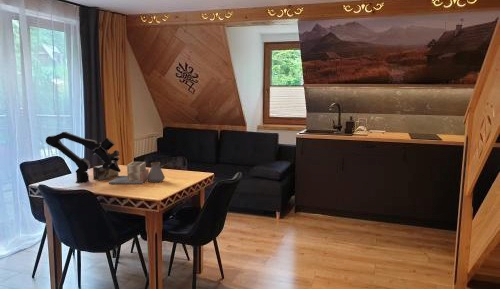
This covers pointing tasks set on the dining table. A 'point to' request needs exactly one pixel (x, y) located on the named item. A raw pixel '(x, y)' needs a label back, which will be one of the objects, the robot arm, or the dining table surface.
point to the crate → (135, 170)
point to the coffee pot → (156, 173)
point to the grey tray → (125, 181)
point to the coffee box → (103, 173)
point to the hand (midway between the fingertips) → (120, 171)
